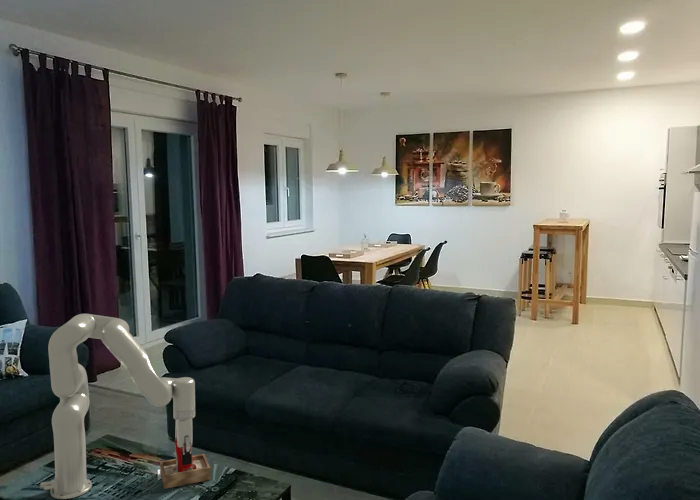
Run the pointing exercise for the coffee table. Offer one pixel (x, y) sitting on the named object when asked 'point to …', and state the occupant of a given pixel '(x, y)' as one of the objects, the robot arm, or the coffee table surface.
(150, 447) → the coffee table surface
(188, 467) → the beverage can
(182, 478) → the wooden box
